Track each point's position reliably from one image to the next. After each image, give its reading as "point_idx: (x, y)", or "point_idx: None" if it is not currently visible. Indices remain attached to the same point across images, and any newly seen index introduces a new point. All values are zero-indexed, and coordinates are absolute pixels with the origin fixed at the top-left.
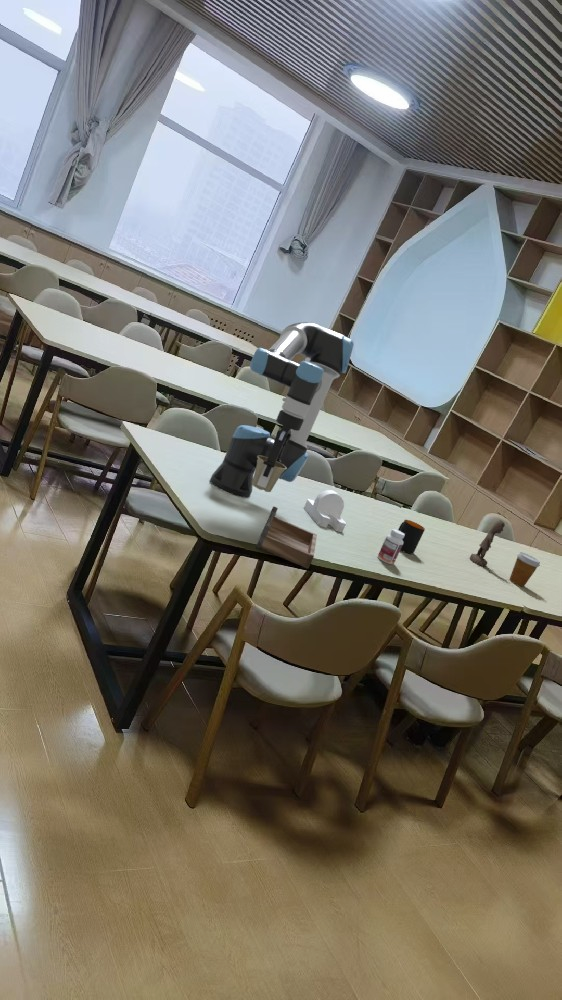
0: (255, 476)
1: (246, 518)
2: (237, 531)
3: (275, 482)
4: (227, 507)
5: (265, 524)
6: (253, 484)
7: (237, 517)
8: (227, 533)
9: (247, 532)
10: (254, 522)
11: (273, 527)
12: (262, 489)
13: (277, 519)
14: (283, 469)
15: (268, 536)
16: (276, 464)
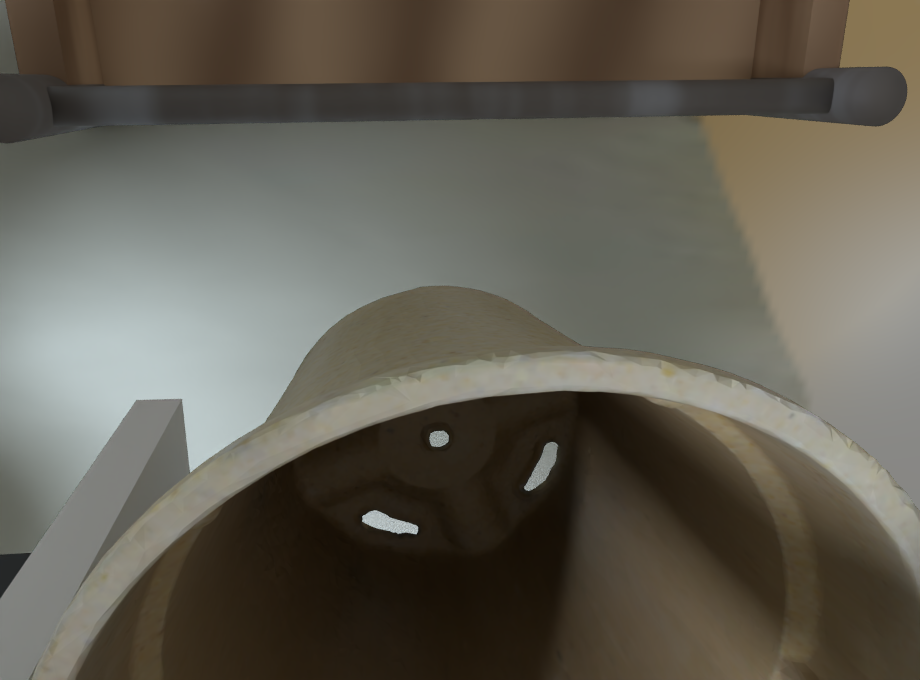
0: (563, 624)
1: (116, 305)
2: (576, 295)
3: (529, 324)
4: (57, 483)
5: (878, 124)
6: (531, 531)
7: (212, 367)
8: (709, 340)
9: (499, 229)
10: (122, 227)
11: (93, 37)
12: (584, 397)
13: (59, 25)
14: (803, 409)
15: (816, 49)
16: (105, 665)
